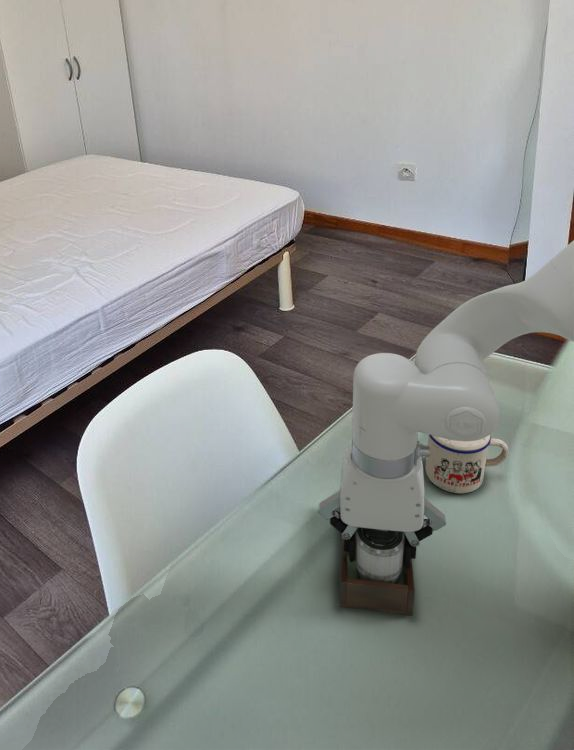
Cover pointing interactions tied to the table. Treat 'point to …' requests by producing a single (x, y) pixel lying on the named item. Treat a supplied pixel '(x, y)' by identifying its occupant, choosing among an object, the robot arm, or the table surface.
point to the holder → (375, 589)
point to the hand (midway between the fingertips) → (378, 555)
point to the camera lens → (379, 554)
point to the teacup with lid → (460, 462)
